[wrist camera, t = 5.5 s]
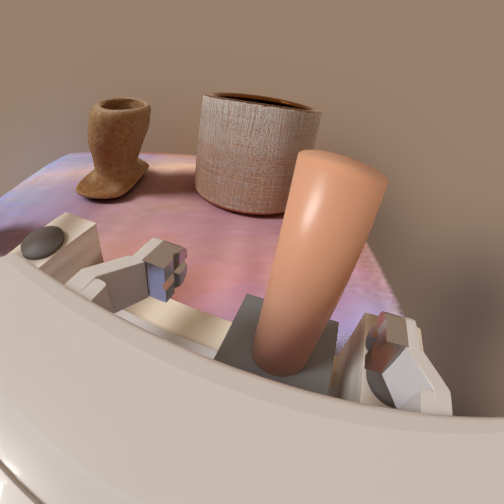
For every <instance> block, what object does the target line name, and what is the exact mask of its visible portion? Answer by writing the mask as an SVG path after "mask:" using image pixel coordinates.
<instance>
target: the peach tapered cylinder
mask: <svg viewBox="0 0 504 504" xmlns="http://www.w3.org/2000/svg"><path fill="white" fill-rule="evenodd" d="M387 184H388V180H387V179H386V177H385V176H384V175H382V174H381V173H380V172H378V171H377V170H375V169H374V168H372V167H370V166H368V165H366V164H364V163H362V162H360V161H357V160H355V159H352V158H349V157H346V156H343V155H340V154H336V153H332V152H327V151H320V150H303V151H300V152H299V153H298V156H297V161H296V165H295V170H294V174H293V179H292V183H291V188H290V192H289V197H288V201H287V205H286V210H285V214H284V218H283V223H282V227H281V231H280V236H279V240H278V244H277V248H276V252H275V256H274V261H273V265H272V269H271V273H270V277H269V281H268V285H267V289H266V293H265V297H264V299H262V298H259V297H256V296H253V295H250V294H247V295H246V297H245V299H244V301H243V303H242V305H241V307H240V309H239V310H238V312H237V314H236V316H235V318H234V320H233V322H232V324H231V326H230V328H229V330H228V332H227V334H226V336H225V338H224V340H223V342H222V344H221V346H220V348H219V350H218V352H217V354H216V355H215V357H214V360H216V361H219V362H222V363H224V364H227V365H230V366H232V367H235V368H238V369H241V370H243V371H246V372H249V373H252V374H255V375H258V376H261V377H264V378H267V379H270V380H274V381H277V382H280V383H283V384H287V385H290V386H293V387H297V388H301V389H304V390H308V391H311V392H315V393H319V394H323V395H327V396H328V391H329V385H330V380H331V374H332V368H333V361H334V355H335V348H336V340H337V333H338V324H339V322H336V321H333V320H330V318H331V316H332V314H333V312H334V310H335V308H336V306H337V304H338V302H339V300H340V298H341V295H342V293H343V291H344V289H345V287H346V285H347V283H348V281H349V279H350V276H351V274H352V272H353V270H354V267H355V265H356V263H357V261H358V258H359V256H360V254H361V251H362V249H363V247H364V244H365V242H366V240H367V237H368V235H369V232H370V230H371V227H372V225H373V222H374V220H375V217H376V214H377V212H378V209H379V207H380V204H381V201H382V198H383V195H384V193H385V190H386V187H387Z"/></svg>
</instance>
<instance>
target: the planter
mask: <svg viewBox="0 0 504 504" xmlns="http://www.w3.org/2000/svg"><path fill="white" fill-rule="evenodd" d="M321 114H322V112H321V111H320V110H317V109H315V108H313V107H310V106H306V105H303V104H299V103H295V102H292V101H287V100H282V99H278V98H272V97H266V96H259V95H252V94H242V93H228V92H211V93H206V94H204V95H203V103H202V111H201V121H200V130H199V139H198V149H197V159H196V171H195V187H196V190H197V192H198V193H199V194H200V195H201V196H202V197H203V198H204V199H206V200H207V201H209V202H210V203H212V204H214V205H216V206H218V207H220V208H223V209H226V210H229V211H233V212H237V213H242V214H248V215H275V214H281V213H284V212H285V210H286V205H287V201H288V197H289V192H290V188H291V183H292V179H293V174H294V170H295V165H296V161H297V156H298V153H299V152H300V151H303V150H314V147H315V142H316V138H317V133H318V128H319V124H320V119H321Z"/></svg>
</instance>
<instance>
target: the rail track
mask: <svg viewBox="0 0 504 504" xmlns="http://www.w3.org/2000/svg"><path fill="white" fill-rule="evenodd" d="M13 253H16V254H19V255H21V256H22V257H24V258H25V259H27V260H28V261H29V262H31V263H32V264H34V265H35V266H36V267H38V268H39V269H41V270H42V271H44V272H45V273H47V274H48V275H50V276H51V277H53V278H54V279H56V280H57V281H59V282H61V283H62V284H65V283H67V282H68V281H69V280H70V279H71V278H72V277H73V276H74V275H75V274H76V273H78V272H79V271H80V270H81V269H83V268H87V267H90V266H94V265H97V264H101V263H104V262H103V257H102V252H101V247H100V242H99V237H98V232H97V226H96V223H94V222H91V221H88V220H86V219H83V218H80V217H78V216H75V215H72V214H70V213H67V212H65V213H64V214H62V215H61V216H59V217H58V218H56V219H55V220H53V221H52V222H50V223H49V224H47V225H46V226H44V227H42V228H39V229H37V230H34V231H33V232H31V233H30V234H28V235H27V236H26V237H25V238H24V240H23V241H22V243H21V244H20V245H19V246H17V247H16V248H15V249H13V250H12V251H11V252H10V253H8V254H13ZM8 254H7V255H8ZM114 314H116V315H118V316H119V317H121V318H123V319H125V320H127V321H129V322H131V323H133V324H135V325H137V326H139V327H141V328H143V329H145V330H147V331H149V332H151V333H154V334H156V335H158V336H160V337H162V338H164V339H166V340H169V341H171V342H173V343H175V344H178V345H180V346H182V347H185V348H187V349H189V350H192V351H194V352H196V353H199V354H201V355H204V356H206V357H209V358H211V359H214V357H215V355H216V354H217V352H218V350H219V348H220V346H221V344H222V342H223V340H224V338H225V336H226V334H227V332H228V330H229V328H230V326H231V324H232V322H230V321H227V320H224V319H221V318H219V317H216V316H213V315H210V314H208V313H205V312H203V311H200V310H197V309H195V308H192V307H190V306H187V305H185V304H182V303H180V302H177V301H175V300H172V299H169V300H168V302H167V303H165V302H163V301H160V300H158V299H155V298H153V297H150V296H149V297H148V298H146V299H144V300H142V301H140V302H137V303H135V304H133V305H131V306H129V307H127V308H125V309H123V310H121V311H119V312H117V313H114ZM377 317H378V316H375V315H372V314H369V313H365V314H364V315H363V317H362V319H361V320H360V322H359V324H358V325H357V327H356V328H355V330H354V332H353V333H352V335H351V336H350V338H349V339H348V341H347V343H346V344H345V346H344V347H343V349H342V350H341V352H340V353H339V355H338V356H337V355H334V361H333V368H332V374H331V380H330V385H329V391H328V396H331V397H335V398H340V399H344V400H349V401H353V402H358V403H363V404H368V405H373V406H379V407H385V408H391V409H397V408H396V406H395V403H394V401H393V399H392V396H391V394H390V392H389V389H388V387H387V385H386V383H385V380H384V378H383V376H382V373H378V372H375V371H371V370H367V369H364V366H365V355H366V354H367V352H368V350H367V349H366V347H365V342H366V337H367V334H368V332H369V330H370V328H371V326H372V325H374V324H376V323H377ZM417 333H418V339H419V346H420V350H421V351H423V344H422V337H421V330H420V328H417Z"/></svg>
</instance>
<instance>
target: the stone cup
mask: <svg viewBox="0 0 504 504" xmlns="http://www.w3.org/2000/svg"><path fill="white" fill-rule="evenodd" d="M150 112H151V109H150V105H149V104H148V103H147V102H145V101H143V100H141V99H137V98H131V97H114V98H108V99H104V100H102V101H100V102H98V104H96V105H94V106H93V108H92V110H91V112H90V115H89V122H88V143H89V148H90V151H91V154H92V157H93V162H94V167H95V168H94V170H93V171H92V172H91V173H89V174H88V175H87V176H86V177H84V178H83V179H82V180H81V181H80V182H79V184H78V185H77V187H76V192H77V193H78V194H79V195H81V196H83V197H87V198H94V199H109V198H117V197H120V196H122V195H123V194H125V193H126V192H128V191H129V190H130V189H131V188H132V187H133V186H134V185H135V184H136V183H137V182H138V180H139V179H140V178H141V177H142V175H143V174H144V173H145V172H146V171H147V169H148V167H149V165H148V164H147V163H146V162H145V161H142V160H141V159H140V158H138V155H139V152H140V149H141V146H142V144H143V140H144V138H145V136H146V133H147V130H148V127H149V123H150Z"/></svg>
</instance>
